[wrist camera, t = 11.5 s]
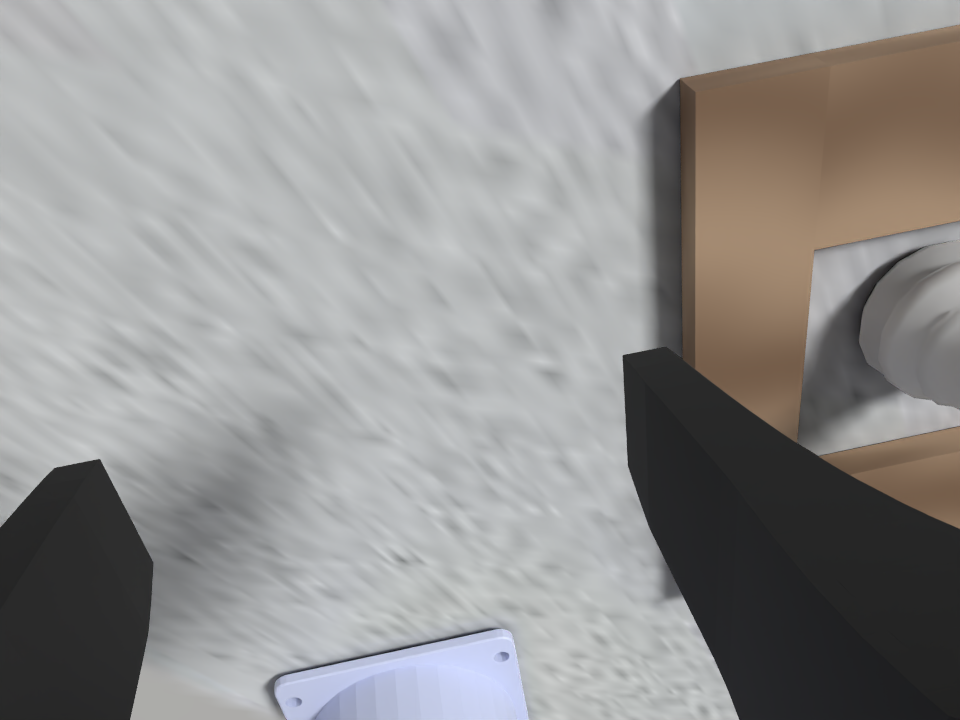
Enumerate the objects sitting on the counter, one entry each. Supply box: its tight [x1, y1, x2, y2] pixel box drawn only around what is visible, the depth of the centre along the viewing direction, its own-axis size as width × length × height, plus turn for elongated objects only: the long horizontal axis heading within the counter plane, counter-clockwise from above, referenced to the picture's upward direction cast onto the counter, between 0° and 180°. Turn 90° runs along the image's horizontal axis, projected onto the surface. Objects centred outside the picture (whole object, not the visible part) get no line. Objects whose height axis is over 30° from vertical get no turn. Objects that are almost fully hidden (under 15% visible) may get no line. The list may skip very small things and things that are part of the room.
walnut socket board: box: [680, 25, 960, 529], centre depth 24 cm, size 17×14×1 cm
